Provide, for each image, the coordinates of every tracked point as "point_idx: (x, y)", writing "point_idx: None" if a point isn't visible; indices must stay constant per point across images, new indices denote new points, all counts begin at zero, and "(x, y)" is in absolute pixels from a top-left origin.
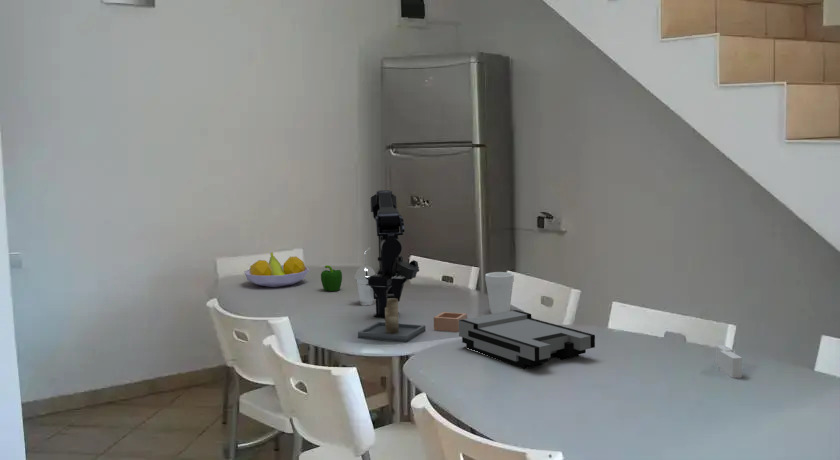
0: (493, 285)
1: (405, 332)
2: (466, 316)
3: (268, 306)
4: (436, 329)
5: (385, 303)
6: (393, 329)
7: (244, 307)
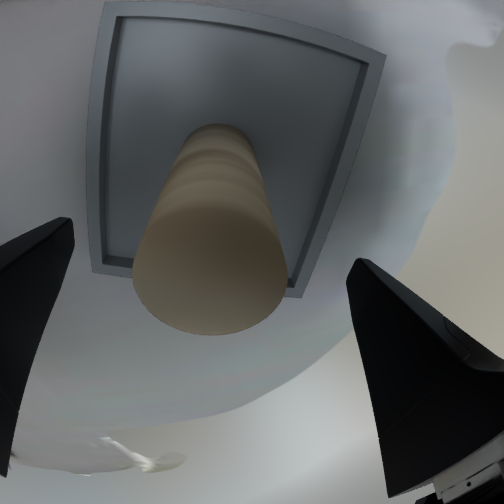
0: None
1: (219, 82)
2: None
3: (65, 450)
4: None
5: (395, 283)
6: (252, 149)
7: (90, 464)
